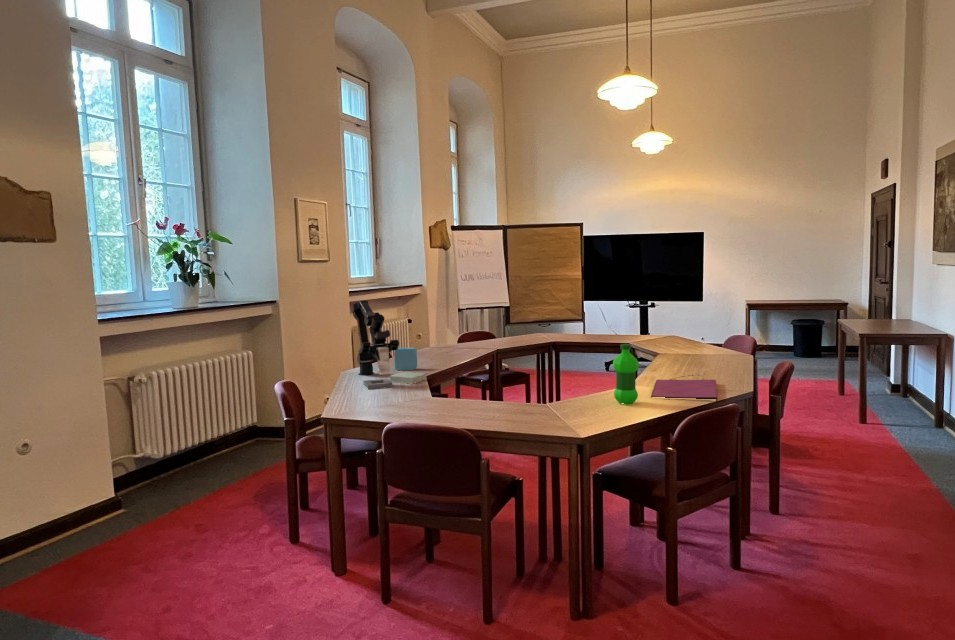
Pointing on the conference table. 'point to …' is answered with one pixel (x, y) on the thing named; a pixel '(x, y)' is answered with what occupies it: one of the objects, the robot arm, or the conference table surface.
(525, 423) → the conference table surface
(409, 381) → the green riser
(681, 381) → the maroon hardcover notebook
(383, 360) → the cream block
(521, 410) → the conference table surface
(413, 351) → the light blue square slab
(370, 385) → the pocket holder
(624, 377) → the plastic bottle
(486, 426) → the conference table surface
